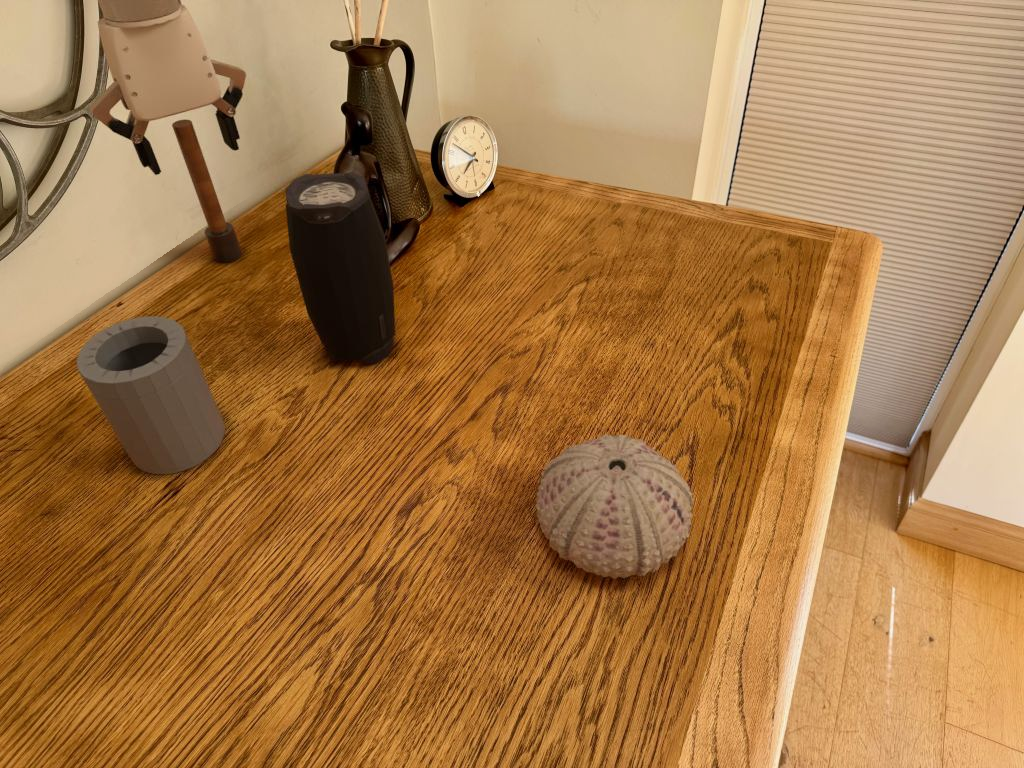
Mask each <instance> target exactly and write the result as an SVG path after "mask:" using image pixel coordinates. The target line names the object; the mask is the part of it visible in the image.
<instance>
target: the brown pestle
mask: <svg viewBox="0 0 1024 768" xmlns="http://www.w3.org/2000/svg"><path fill="white" fill-rule="evenodd" d="M171 126H172V130H173V132H174V135H175V138H176V140H177V144H178V146H179V150H180V152H181V154H182V157H183V160H184V163H185V166H186V168H187V171H188V174H189V177H190V179H191V183H192V185H193V189H194V190H195V193H196V197H197V199H198V202H199V204H200V207H201V210H202V213H203V215H204V218H205V221H206V225H207V227H206V228H205V229H204V235H205V239H206V240H207V241H206V242H207V244H208V247H209V249H210V252H211V254H212V257H213V260H214V261H215V262H217V263H220V264H227V263H231V262H235V261H237V260H238V259H240V258H241V256H242V255H243V254H242V253H243V251H242V248H241V245H240V242H239V240H238V237H237V234H236V231H235V227H234V225H233V224H232V223H230V222H227V221H226V218H225V215H224V213H223V210H222V207H221V204H220V201H219V198H218V195H217V191H216V189H215V187H214V183H213V180H212V177H211V174H210V171H209V169H208V166H207V162H206V159H205V156H204V153H203V150H202V148H201V145H200V142H199V139H198V136H197V133H196V130H195V127H194V124H193V121H192V120H191V119H179V120H176V121H174V122H172V124H171Z"/></svg>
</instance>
